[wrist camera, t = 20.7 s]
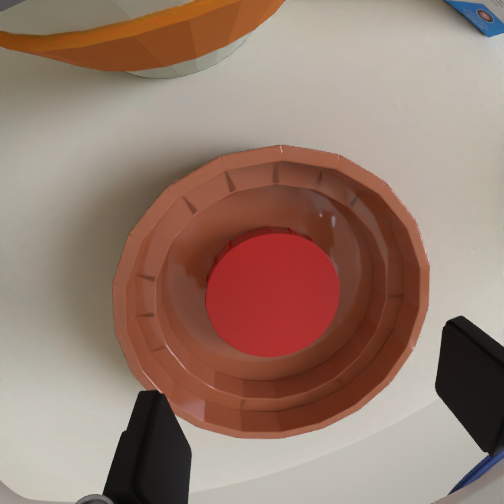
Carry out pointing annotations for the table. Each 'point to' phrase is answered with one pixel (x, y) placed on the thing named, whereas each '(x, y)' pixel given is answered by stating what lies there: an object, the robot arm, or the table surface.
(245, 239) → the lid
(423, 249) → the dish
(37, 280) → the table surface
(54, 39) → the reusable coffee cup
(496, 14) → the ink box
